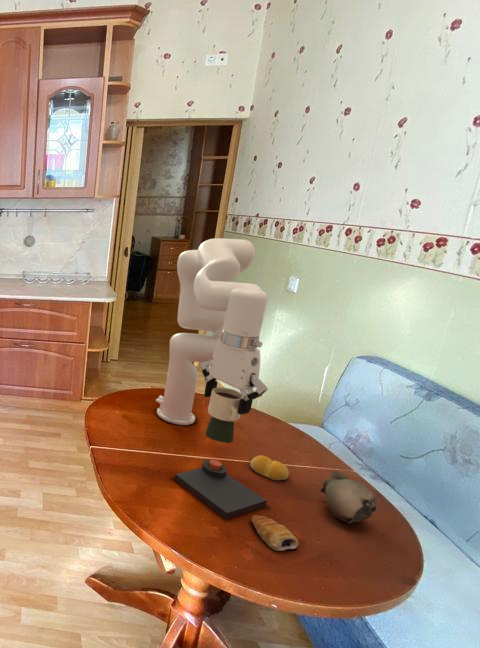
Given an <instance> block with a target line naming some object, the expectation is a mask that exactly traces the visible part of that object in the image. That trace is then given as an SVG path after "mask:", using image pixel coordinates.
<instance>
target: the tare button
mask: <svg viewBox="0 0 480 648" xmlns="http://www.w3.org/2000/svg"><path fill="white" fill-rule="evenodd" d="M209 460H210V461H209V467H210V468H211V469H214V470H221V466H222V464H223V463H222V462H221V461H219V460H218V459H217V460H216V459H209Z"/></svg>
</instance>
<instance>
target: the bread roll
mask: <svg viewBox="0 0 480 648" xmlns="http://www.w3.org/2000/svg"><path fill="white" fill-rule="evenodd" d="M249 467H250V468H251V470H253V471H254V472H255V473H256V474H258V475H260V476H263V477H266V478H267V479H270V480H272V481H284V480H287V479H288V478H289V475H290V472H289V469H288V467H287V466H286V465H285V464H283V463H282V462H280V461H278V460H272V459H271V458H269V457H268V456H266V455H261V454H260V455H256V456H255V457H253V458H252V459H251V461H250V463H249Z"/></svg>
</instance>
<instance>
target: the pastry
mask: <svg viewBox="0 0 480 648" xmlns="http://www.w3.org/2000/svg"><path fill="white" fill-rule="evenodd" d="M251 522H252V524H253V526H254V529H255V530H256V532H257V535H258V536H259V537H260V538H261V540H262V541H264V542H265V544H266V545H267V546H268V547H269V548H271V549H272V550H274V551H275V552H276V551H277V552H281V551H286V550H294V549H296V548H297V547H298V545H299V541H298V538H297V537H296V536H295V535H294V534H293V533H292V532H291V531H290V529H288V528H287V527H286V526H285V525H283V524H280V523H279V522H277V521H275V520H274V519H272V518H270V517H268V516H265V515H256V514H254V515H253V516H252V518H251Z"/></svg>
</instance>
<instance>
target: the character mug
mask: <svg viewBox="0 0 480 648" xmlns="http://www.w3.org/2000/svg"><path fill="white" fill-rule="evenodd" d="M242 398H243V396H242V394H241V392H240V391H239V390H236V389H232V388H229V387H222V386H220V387H219V386H217V388H213V390H212V392H211V397H209V403H208V408H207V413H208V415H210V419H209V421H208V423H207V427H206V430H205V433H204V434H205V436H206V437H207V438H208V439H211V440H213V441H216V442H219V443H225V444H231V443H233V441H234V434H235V423H234V422H236V421H238V420H240V418H241V416H242V414H241V415H240V414H238V407H239V403H240V399H242Z"/></svg>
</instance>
